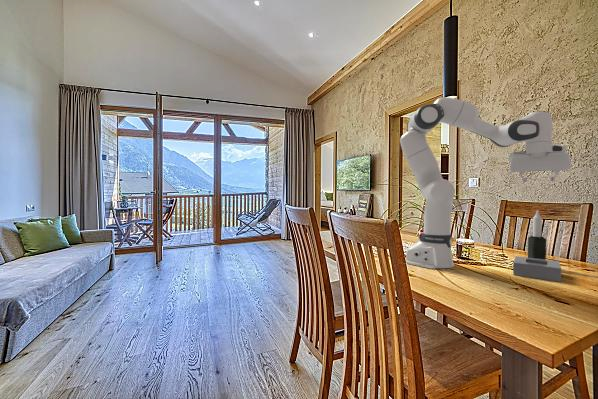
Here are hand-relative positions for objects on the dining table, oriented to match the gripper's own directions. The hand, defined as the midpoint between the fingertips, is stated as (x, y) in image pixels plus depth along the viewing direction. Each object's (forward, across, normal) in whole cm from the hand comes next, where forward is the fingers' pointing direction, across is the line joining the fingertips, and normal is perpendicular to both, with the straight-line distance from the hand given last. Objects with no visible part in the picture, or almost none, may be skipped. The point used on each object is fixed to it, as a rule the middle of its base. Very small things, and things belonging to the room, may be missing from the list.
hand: (538, 181), depth 123 cm
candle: (+38, 0, 0) cm, 38 cm away
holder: (+37, 0, -14) cm, 40 cm away
